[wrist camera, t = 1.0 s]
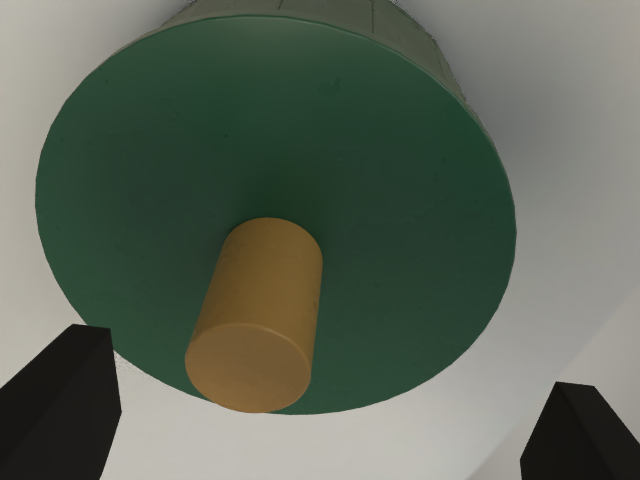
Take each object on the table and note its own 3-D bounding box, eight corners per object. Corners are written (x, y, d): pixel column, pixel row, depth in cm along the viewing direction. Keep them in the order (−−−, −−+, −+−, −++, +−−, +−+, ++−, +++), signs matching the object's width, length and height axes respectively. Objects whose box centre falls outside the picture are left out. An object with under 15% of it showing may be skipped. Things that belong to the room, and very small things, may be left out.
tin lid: (576, 299, 16) (641, 453, 12) (234, 428, 20) (201, 575, 16) (358, -124, 11) (350, -90, 7) (-42, 161, 15) (-187, 282, 11)
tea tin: (519, 199, 20) (561, 310, 15) (259, 316, 24) (233, 432, 19) (355, -114, 15) (349, -85, 11) (63, 93, 19) (-32, 178, 14)
